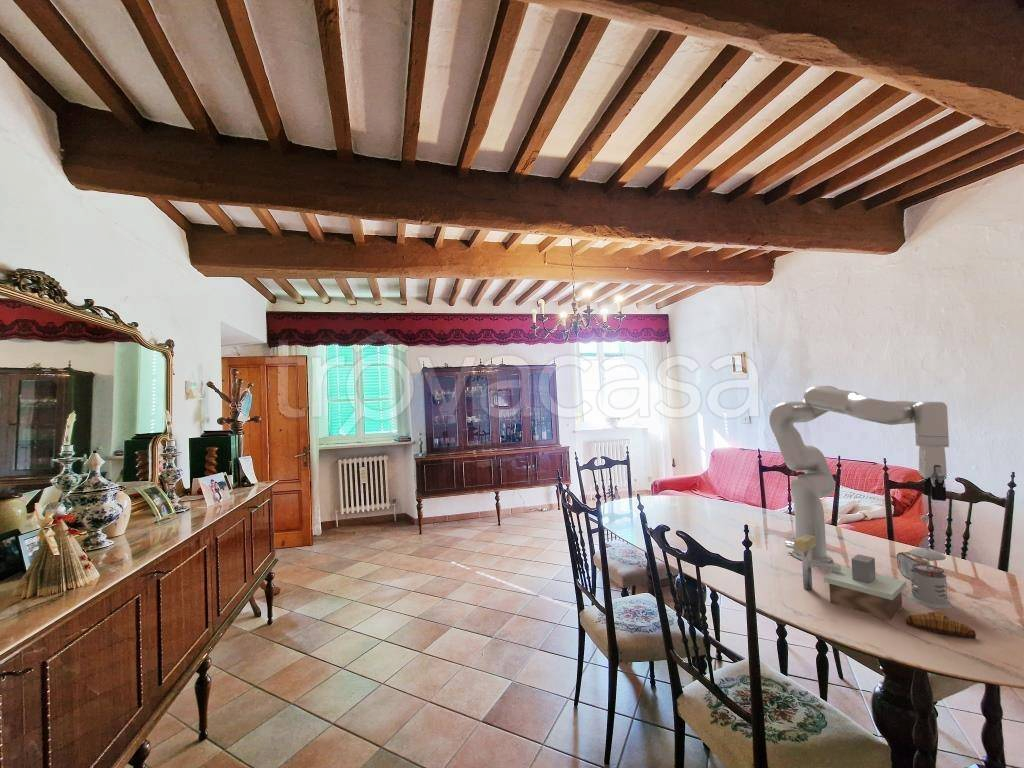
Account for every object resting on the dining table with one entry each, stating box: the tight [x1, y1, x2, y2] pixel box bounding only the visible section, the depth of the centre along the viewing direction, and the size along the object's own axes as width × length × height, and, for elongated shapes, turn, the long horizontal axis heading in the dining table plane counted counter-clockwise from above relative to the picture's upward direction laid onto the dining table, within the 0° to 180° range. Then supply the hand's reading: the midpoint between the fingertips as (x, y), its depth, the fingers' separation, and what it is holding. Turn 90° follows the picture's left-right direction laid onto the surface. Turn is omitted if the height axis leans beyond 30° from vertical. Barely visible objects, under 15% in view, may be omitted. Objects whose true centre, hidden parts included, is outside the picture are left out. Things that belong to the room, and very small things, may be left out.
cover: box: [823, 553, 907, 600], centre depth 131 cm, size 16×14×8 cm
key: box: [793, 535, 842, 590], centre depth 140 cm, size 10×9×16 cm
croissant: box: [904, 611, 977, 639], centre depth 115 cm, size 14×7×5 cm, turn 54°
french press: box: [907, 515, 953, 609], centre depth 133 cm, size 10×12×25 cm
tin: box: [895, 551, 933, 583], centre depth 146 cm, size 15×3×8 cm, turn 168°
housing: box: [828, 583, 903, 621], centre depth 131 cm, size 14×12×6 cm
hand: (934, 497), depth 137 cm, fingers open, 9 cm apart
